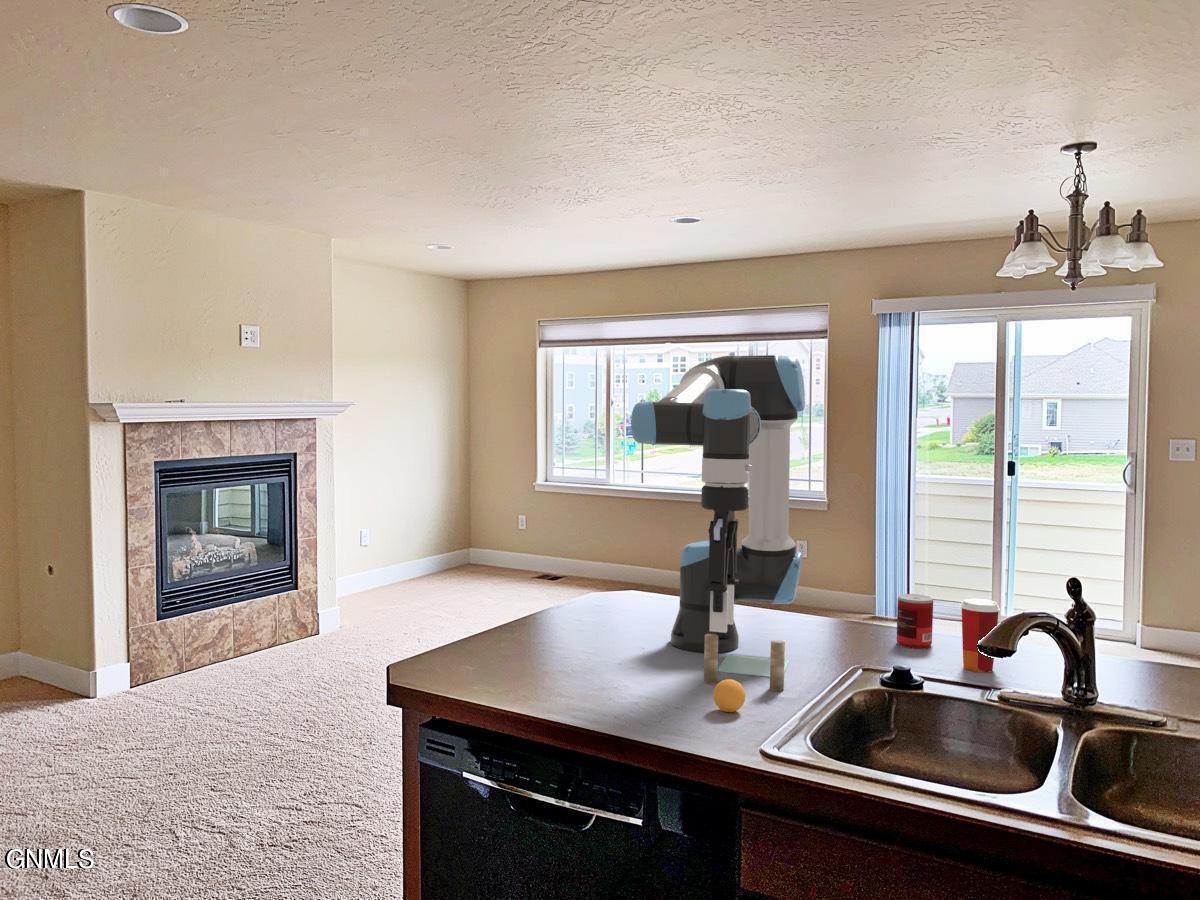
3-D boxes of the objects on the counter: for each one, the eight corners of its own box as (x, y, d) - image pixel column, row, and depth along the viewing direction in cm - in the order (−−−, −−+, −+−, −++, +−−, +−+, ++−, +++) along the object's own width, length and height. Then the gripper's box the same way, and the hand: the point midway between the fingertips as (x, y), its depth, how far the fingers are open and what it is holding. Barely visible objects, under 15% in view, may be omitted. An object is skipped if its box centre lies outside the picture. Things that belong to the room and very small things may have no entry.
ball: (710, 714, 152) (711, 682, 152) (716, 704, 157) (716, 673, 157) (742, 718, 150) (743, 686, 150) (747, 708, 155) (748, 677, 155)
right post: (768, 690, 166) (770, 642, 166) (770, 686, 168) (771, 639, 168) (782, 691, 165) (784, 644, 165) (784, 687, 168) (785, 640, 167)
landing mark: (716, 671, 178) (716, 670, 178) (727, 655, 190) (727, 654, 190) (782, 678, 174) (782, 677, 174) (789, 661, 186) (789, 660, 186)
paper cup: (998, 666, 186) (1000, 600, 185) (997, 675, 179) (1000, 607, 178) (958, 661, 189) (960, 596, 188) (956, 670, 182) (958, 603, 181)
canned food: (931, 642, 205) (932, 595, 205) (932, 650, 198) (933, 601, 197) (896, 639, 208) (897, 592, 207) (896, 647, 200) (897, 599, 200)
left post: (702, 682, 170) (703, 636, 169) (705, 679, 172) (706, 633, 172) (715, 684, 169) (717, 637, 169) (718, 680, 171) (719, 634, 171)
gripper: (739, 489, 133) (735, 642, 134) (756, 482, 151) (752, 617, 151) (690, 487, 135) (686, 638, 136) (712, 480, 153) (709, 613, 154)
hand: (721, 627), depth 144 cm, fingers open, 5 cm apart
